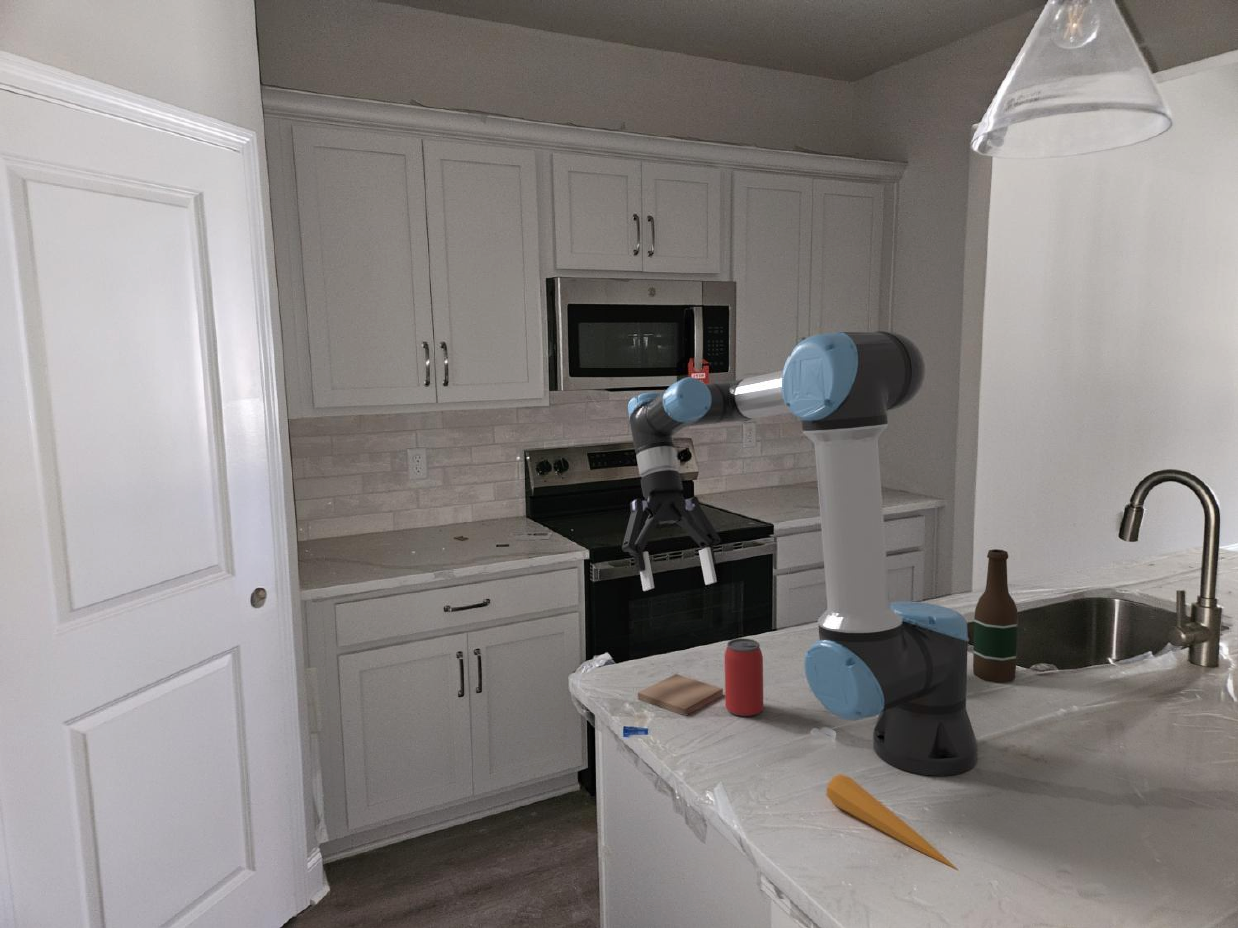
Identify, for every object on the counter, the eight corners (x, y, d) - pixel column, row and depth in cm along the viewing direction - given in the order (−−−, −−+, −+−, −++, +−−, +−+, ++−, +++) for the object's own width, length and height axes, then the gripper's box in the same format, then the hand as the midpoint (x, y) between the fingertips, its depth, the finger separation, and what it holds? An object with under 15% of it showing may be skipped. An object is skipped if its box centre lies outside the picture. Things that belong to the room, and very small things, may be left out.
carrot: (824, 806, 115) (818, 783, 113) (845, 786, 117) (840, 763, 115) (949, 895, 98) (945, 869, 97) (972, 870, 100) (968, 845, 99)
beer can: (762, 718, 140) (762, 651, 138) (724, 716, 141) (722, 650, 140) (764, 702, 146) (763, 637, 145) (726, 700, 148) (725, 636, 146)
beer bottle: (984, 664, 159) (987, 543, 156) (1024, 675, 153) (1029, 550, 150) (964, 675, 155) (966, 551, 151) (1005, 687, 149) (1009, 558, 145)
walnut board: (722, 694, 150) (722, 688, 150) (685, 715, 142) (684, 709, 142) (676, 679, 158) (676, 673, 157) (638, 698, 150) (637, 692, 150)
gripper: (702, 479, 163) (723, 584, 158) (592, 481, 151) (610, 596, 145) (724, 467, 157) (747, 576, 151) (611, 468, 145) (631, 587, 139)
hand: (680, 586), depth 148 cm, fingers open, 13 cm apart
